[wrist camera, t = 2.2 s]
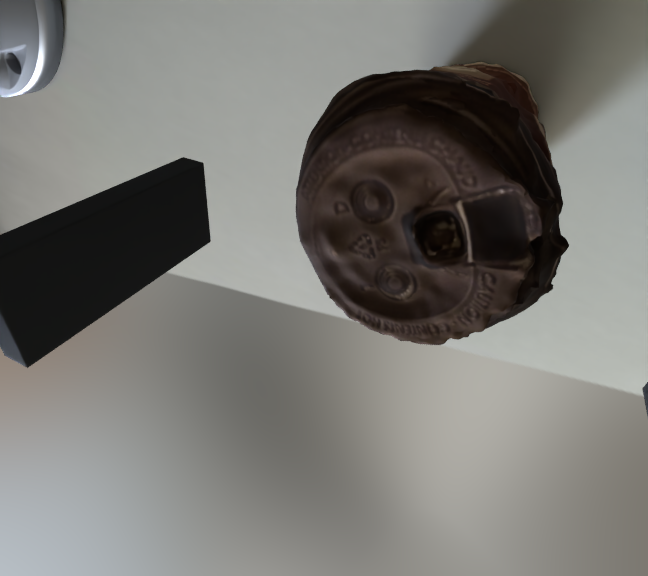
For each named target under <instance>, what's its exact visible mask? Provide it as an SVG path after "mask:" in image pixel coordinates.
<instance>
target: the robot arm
mask: <svg viewBox="0 0 648 576" xmlns="http://www.w3.org/2000/svg"><path fill="white" fill-rule="evenodd" d="M62 48H63V17H62V8H61V2H60V0H0V97H10V96H15V95H21V94H26V93H31V92H35V91H38V90H40V89H42V88H44V87H45V86H46V85H47V84H49V83H50V81H51V80H52V79H53V77H54V75H55V73H56V72H57V69H58V66H59V64H60V60H61V55H62ZM209 242H210V230H209V219H208V208H207V198H206V187H205V176H204V165H203V163H202V162H198V161H195V160H191V159H187V158H184V157H183V158H180V159H178V160H176V161H173V162H171V163H169V164H166V165H164V166H162V167H159V168H157V169H154V170H152V171H150V172H147V173H145V174H143V175H140V176H138V177H136V178H133V179H131V180H129V181H126V182H124V183H122V184H119V185H117V186H114V187H112V188H110V189H107V190H105V191H103V192H100V193H98V194H96V195H93V196H91V197H89V198H86V199H84V200H82V201H79V202H77V203H74V204H72V205H70V206H67V207H65V208H63V209H60V210H58V211H56V212H53V213H51V214H49V215H46V216H44V217H42V218H39V219H37V220H34V221H32V222H30V223H27V224H25V225H23V226H20V227H18V228H16V229H13V230H11V231H9V232H6V233H4V234H2V235H0V347H1V349H2V351H3V353H4V355H5V356H7V357H8V358H10V359H12V360H14V361H16V362H18V363H20V364H22V365H23V366H25V367H27V368H28V367H29V366H31V365H32V364H34V363H35V362H37V361H38V360H39V359H41V358H42V357H44V356H45V355H47V354H48V353H50V352H51V351H53V350H54V349H55V348H57V347H58V346H60V345H61V344H63V343H64V342H65V341H67V340H69V339H70V338H71V337H73V336H74V335H75V334H77V333H79V332H80V331H82V330H83V329H84V328H86V327H87V326H89V325H90V324H92V323H93V322H94V321H96V320H97V319H99V318H100V317H102V316H103V315H105V314H106V313H108V312H109V311H110V310H112V309H113V308H115V307H116V306H118V305H119V304H121V303H122V302H123V301H125V300H126V299H128V298H129V297H131V296H132V295H134V294H135V293H137V292H138V291H139V290H141V289H142V288H144V287H145V286H146V285H148V284H150V283H151V282H152V281H154V280H155V279H157V278H158V277H160V276H161V275H163V274H164V273H166V272H167V271H168V270H170V269H171V268H173V267H174V266H176V265H177V264H179V263H180V262H181V261H183V260H184V259H186V258H187V257H189V256H190V255H192V254H193V253H195V252H196V251H197V250H199V249H200V248H202V247H203V246H205V245H206V244H208V243H209ZM643 394H644V399H645V405H646V410H647V415H648V382H647V384H646V385H645V386H644V387H643Z"/></svg>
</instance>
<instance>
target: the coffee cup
mask: <svg viewBox="0 0 648 576" xmlns="http://www.w3.org/2000/svg"><path fill="white" fill-rule="evenodd" d="M538 113H539V111H538V104H537V103H536V101H535V100H534V98H533V96H532V94H531V90H530V88H529V83H528V82H527V81H526V80H525V78H524V77H522V76H520V75H518V74H516V73H513V72H509V71H508V70H507V69H505V68H503V66H501V65H498V64H494V65H491V64H487V63H484V62H476V63H471V64H464V65H463V64H455V65H453V66H451V67H449V66H443V67H434V68H432V69H431V70H412V71H402V72H397V71H395V72H390V73H385V74H372V75H369V76H366V77H363V78H361V79H359V80H356V81H354V82H352V83H351V84H349V85H348V86H346V87H345V88H343V89H342V90H340V91H339V92H338V93H337V94H336V95H335V96H334V97H333V99H332V100H331V102H330V104H329V105H328V107H327V108H326V110H325V112H324V114H323V115H322V116H321V118H320V119H319V121H318V123H317V124H316V126H315V127H314V129H313V130H312V132H311V134H310V136H309V138H308V141H307V144H306V148H305V152H304V155H303V159H302V165H301V170H300V176H299V181H298V186H297V189H296V218H297V224H298V231H299V236H300V242H301V244H302V246H303V248H304V250H305V252H306V254H307V256H308V258H309V259H310V261H311V263H312V265H313V267H314V270H315V272H316V273H317V275H318V277H319V279H320V281H321V283H322V285H323V286H324V288H325V291H326V292H327V294H328V295H329V296H330V298H331V299H332V300H333V301H334V302H335V304H336V305H337V306H338V307H339V308H341V309H342V310H343V311H344V313H345V314H346V315H347V316H348V317H349V318H351V319H352V320H355V321H358V322H360V323H361V324H362V325H364V326H366V327H367V328H368V329H371V330H374V331H376V332H379V333H381V334H384V335H391V336H393V337H394V338H397V339H398V340H400V341H411V342H414V343H418V344H430V345H441V344H444V343H445V342H446V341H447V340H448V339H450V338H452V339H461V338H463V337H468V336H469V334H471V333H474V332H482V331H484V329H486V328H489V327H491V326H493V325H495V324H497V323H498V322H501V321H504V320H506V319H509V318H511V317H513V316H515V315H517V314H518V313H520V312H522V311H524V310H526V309H527V308H528V307H530V306H531V305H533V304H534V303H535V302H537V301H538V299H539V298H540V297H541V296H542V295H544V294H545V293H548V292H549V291H551V290H552V289H553V285H552V284H551V282H552V279H553V278H554V277H555V275H556V270H557V267H558V265H559V263H560V259H561V256H562V254H563V253H564V252H565V251H566V250H567V248H568V247H569V244H568V242H567V240H566V239H565V238H564V237H563V236H562V235H561V234H560V228H559V214H560V213H561V210H562V206H563V201H562V197H561V189H560V186H559V183H558V180H557V174H556V170H555V168H554V167H553V165H552V160H551V153H550V151H549V148H548V145H547V142H546V135H545V129H544V126H543V124H541V123H540V122H539V121H538Z"/></svg>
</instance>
